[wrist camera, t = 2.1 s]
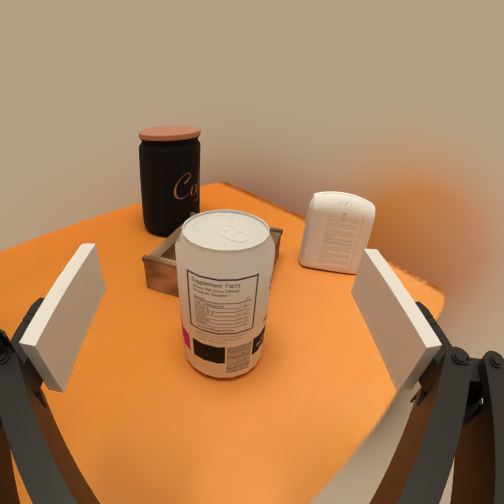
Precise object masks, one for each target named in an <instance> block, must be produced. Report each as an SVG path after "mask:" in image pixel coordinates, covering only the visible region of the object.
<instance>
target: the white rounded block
mask: <svg viewBox="0 0 504 504" xmlns="http://www.w3.org/2000/svg"><path fill="white" fill-rule="evenodd" d="M374 218H375V206H374V205H373V204H372V203H371V202H369V201H368V200H365V199H364V198H361V197H359V196H356V195H353V194H349V193H343V192H319V193H315V194H313V198H312V200H311V202H310V204H309V207H308V212H307V218H306V223H305V228H304V234H303V239H302V244H301V249H300V255H299V262H300V264H301V265H303V266H306V267H311V268H317V269H323V270H329V271H336V272H342V273H349V274H357V271H358V268H359V264H360V261H361V257H362V254H363V250H364V249H366V247H367V244H368V241H369V237H370V234H371V230H372V227H373V223H374Z"/></svg>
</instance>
